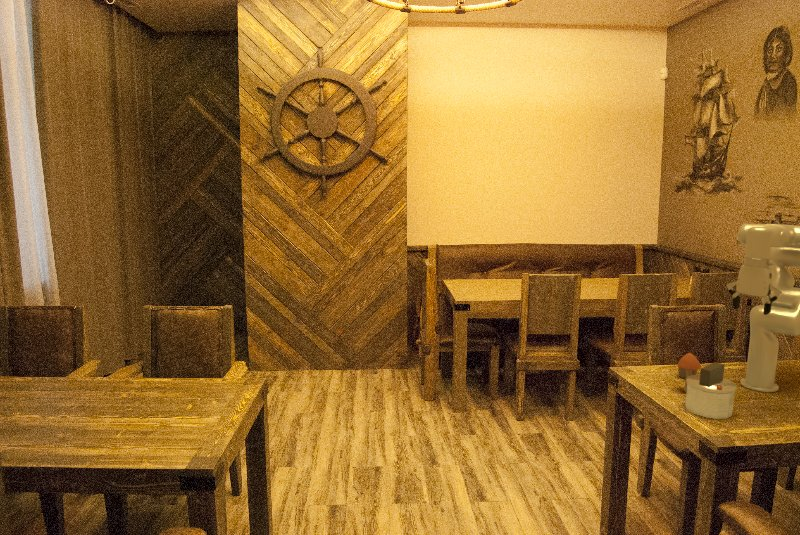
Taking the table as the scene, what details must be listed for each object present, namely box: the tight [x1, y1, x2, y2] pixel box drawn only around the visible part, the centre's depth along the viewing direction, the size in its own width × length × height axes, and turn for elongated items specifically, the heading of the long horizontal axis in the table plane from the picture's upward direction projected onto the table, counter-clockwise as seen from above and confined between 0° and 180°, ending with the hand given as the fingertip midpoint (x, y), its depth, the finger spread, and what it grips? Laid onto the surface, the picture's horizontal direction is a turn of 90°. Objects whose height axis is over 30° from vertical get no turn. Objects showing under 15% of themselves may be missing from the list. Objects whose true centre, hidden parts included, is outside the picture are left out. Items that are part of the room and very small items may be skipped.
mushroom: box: [677, 352, 702, 393], centre depth 224 cm, size 8×8×15 cm
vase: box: [677, 366, 698, 380], centre depth 239 cm, size 7×7×9 cm
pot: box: [684, 384, 735, 420], centre depth 207 cm, size 14×14×9 cm
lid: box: [685, 361, 737, 394], centre depth 206 cm, size 15×15×8 cm
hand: (751, 311), depth 210 cm, fingers open, 9 cm apart
